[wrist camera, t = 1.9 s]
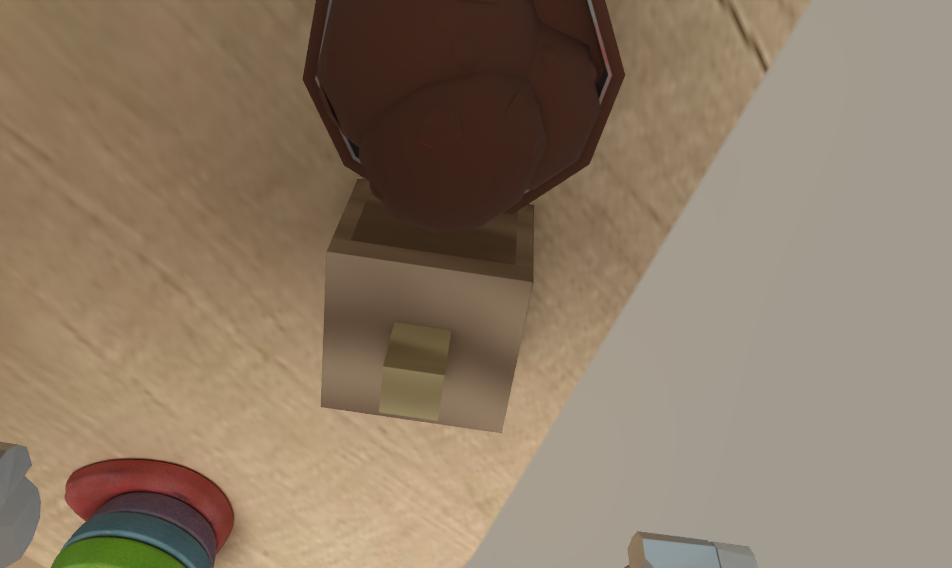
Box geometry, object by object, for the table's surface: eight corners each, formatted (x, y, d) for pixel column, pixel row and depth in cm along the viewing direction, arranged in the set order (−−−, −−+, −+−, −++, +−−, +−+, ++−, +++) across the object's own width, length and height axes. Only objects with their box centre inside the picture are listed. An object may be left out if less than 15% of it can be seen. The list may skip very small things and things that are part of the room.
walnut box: (506, 344, 45) (502, 416, 40) (349, 321, 45) (326, 391, 40) (533, 205, 41) (533, 267, 36) (357, 179, 40) (332, 237, 35)
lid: (502, 416, 40) (499, 481, 37) (326, 391, 40) (304, 453, 37) (533, 267, 36) (532, 325, 32) (332, 237, 35) (308, 292, 32)
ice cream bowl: (650, 27, 35) (713, 171, 23) (455, 165, 40) (417, 350, 27) (507, -192, 31) (487, -164, 19) (305, -13, 35) (179, 109, 23)
